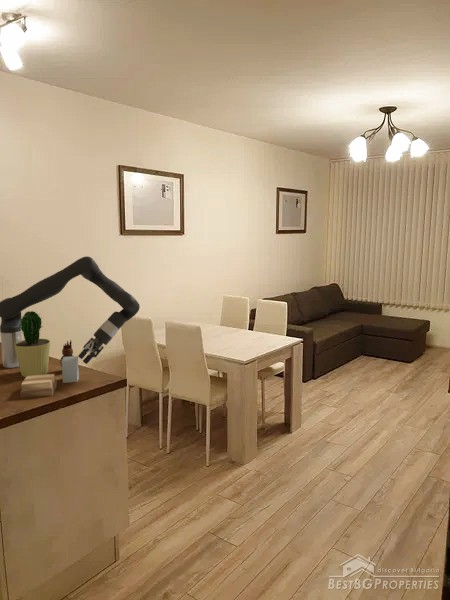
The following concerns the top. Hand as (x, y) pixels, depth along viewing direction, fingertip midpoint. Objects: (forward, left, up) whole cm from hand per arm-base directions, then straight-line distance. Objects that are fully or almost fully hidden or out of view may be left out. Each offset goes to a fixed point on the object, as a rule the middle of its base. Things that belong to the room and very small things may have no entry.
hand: (82, 360), depth 202 cm
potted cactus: (-12, -23, -9) cm, 27 cm away
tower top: (+13, -16, -6) cm, 22 cm away
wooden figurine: (-13, -8, -9) cm, 17 cm away
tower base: (+13, -16, -9) cm, 23 cm away
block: (+1, -5, -9) cm, 10 cm away
